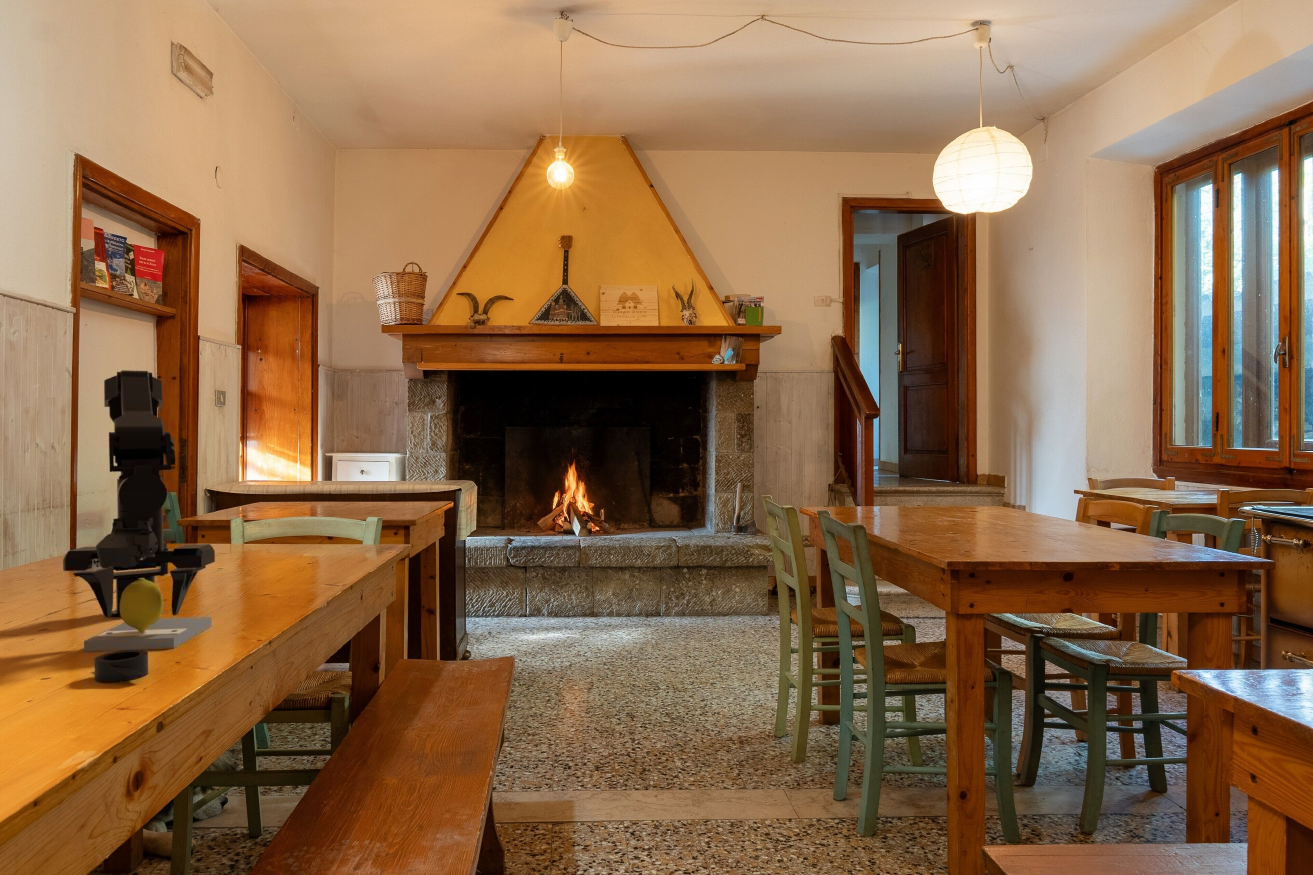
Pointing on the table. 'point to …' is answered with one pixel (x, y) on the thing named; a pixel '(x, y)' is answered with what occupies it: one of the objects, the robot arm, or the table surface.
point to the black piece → (121, 666)
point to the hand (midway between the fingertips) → (141, 615)
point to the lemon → (141, 604)
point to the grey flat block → (149, 635)
